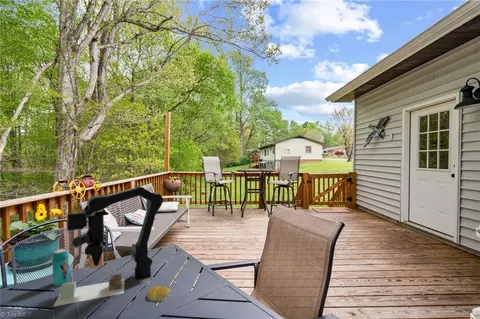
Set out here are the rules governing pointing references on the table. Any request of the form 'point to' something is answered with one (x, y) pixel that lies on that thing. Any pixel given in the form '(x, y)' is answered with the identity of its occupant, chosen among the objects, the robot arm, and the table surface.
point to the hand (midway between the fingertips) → (96, 263)
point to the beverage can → (60, 267)
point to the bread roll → (158, 293)
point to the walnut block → (115, 282)
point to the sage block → (68, 290)
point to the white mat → (91, 293)
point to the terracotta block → (98, 263)
